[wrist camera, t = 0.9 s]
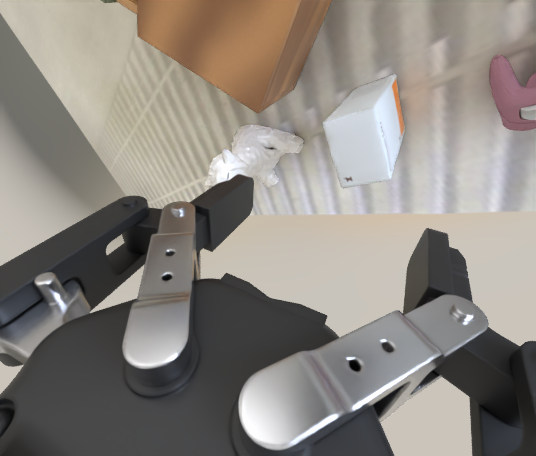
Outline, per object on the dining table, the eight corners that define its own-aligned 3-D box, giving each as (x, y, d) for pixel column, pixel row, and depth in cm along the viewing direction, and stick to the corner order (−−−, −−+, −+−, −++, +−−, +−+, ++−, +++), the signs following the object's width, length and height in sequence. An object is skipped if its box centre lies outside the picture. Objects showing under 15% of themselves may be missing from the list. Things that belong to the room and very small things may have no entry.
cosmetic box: (407, 129, 30) (391, 182, 22) (367, 139, 32) (340, 190, 24) (397, 70, 27) (375, 106, 19) (354, 86, 29) (318, 123, 21)
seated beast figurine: (276, 186, 43) (235, 232, 35) (232, 152, 42) (182, 190, 34) (308, 140, 35) (267, 185, 27) (256, 99, 35) (199, 132, 27)
